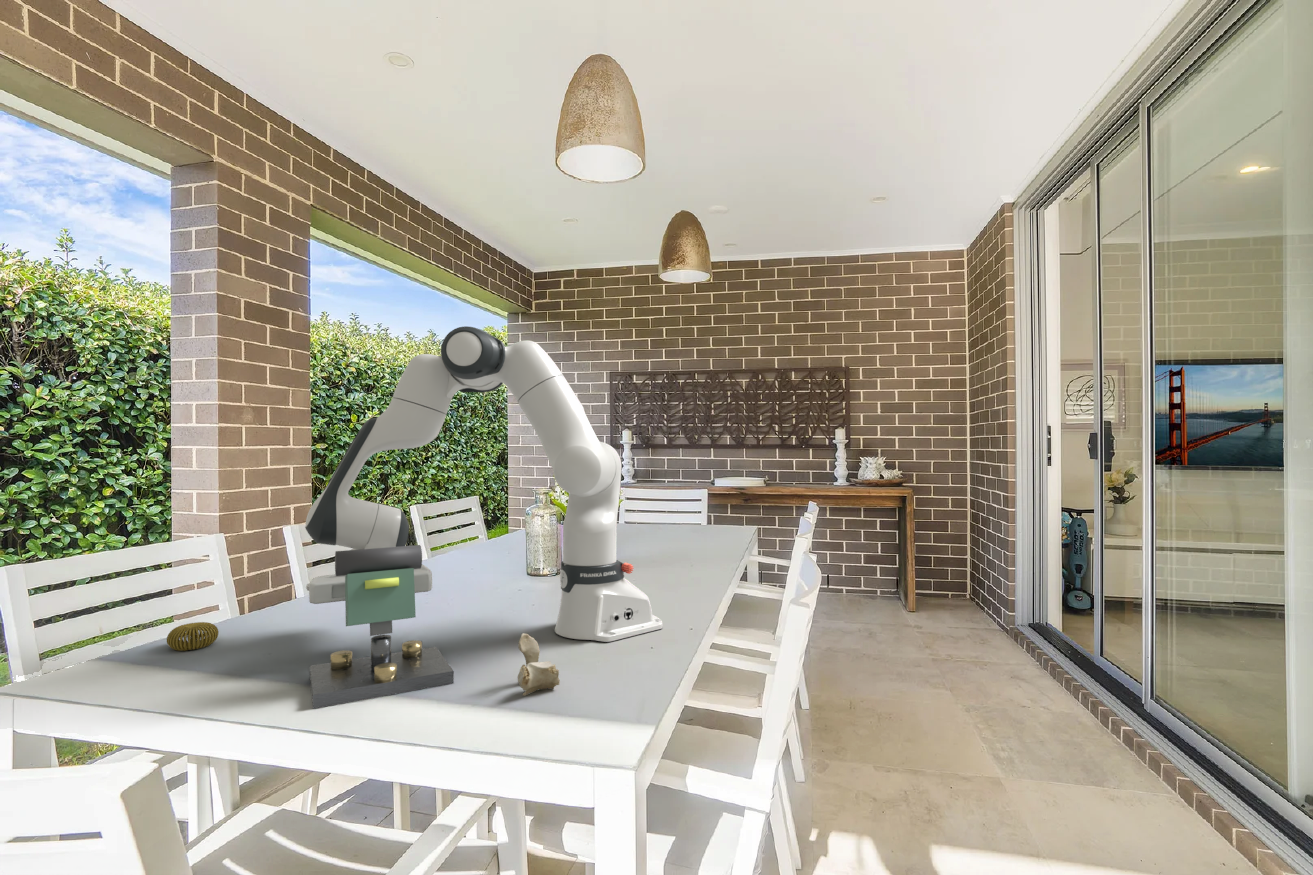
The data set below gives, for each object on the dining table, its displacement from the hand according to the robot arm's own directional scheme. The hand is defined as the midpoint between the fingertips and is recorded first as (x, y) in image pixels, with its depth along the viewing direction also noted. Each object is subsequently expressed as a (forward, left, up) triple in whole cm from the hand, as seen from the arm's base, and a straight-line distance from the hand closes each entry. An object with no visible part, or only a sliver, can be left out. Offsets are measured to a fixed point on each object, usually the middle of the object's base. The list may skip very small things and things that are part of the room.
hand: (377, 593), depth 110 cm
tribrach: (0, +6, -13) cm, 14 cm away
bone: (-21, +22, -13) cm, 33 cm away
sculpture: (+29, -31, -13) cm, 44 cm away
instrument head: (0, +6, -6) cm, 8 cm away
